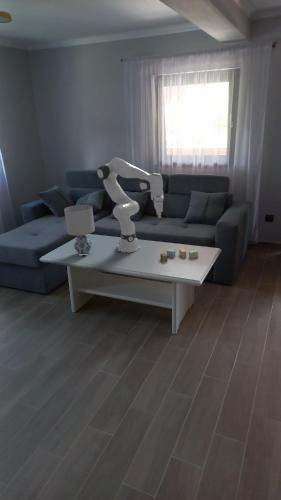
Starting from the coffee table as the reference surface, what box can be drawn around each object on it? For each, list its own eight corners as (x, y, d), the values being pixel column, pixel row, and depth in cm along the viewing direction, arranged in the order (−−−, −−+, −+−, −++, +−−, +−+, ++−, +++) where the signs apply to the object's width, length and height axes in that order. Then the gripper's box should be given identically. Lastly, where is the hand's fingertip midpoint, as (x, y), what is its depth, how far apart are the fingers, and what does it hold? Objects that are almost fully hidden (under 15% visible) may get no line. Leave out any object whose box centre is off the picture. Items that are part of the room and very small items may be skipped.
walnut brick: (160, 259, 260) (160, 253, 258) (164, 258, 261) (164, 252, 259) (163, 261, 254) (163, 256, 253) (167, 261, 255) (167, 255, 254)
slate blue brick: (166, 255, 265) (166, 250, 264) (168, 254, 267) (168, 249, 266) (173, 257, 261) (172, 251, 260) (175, 256, 263) (175, 250, 262)
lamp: (93, 258, 269) (88, 210, 256) (67, 259, 271) (60, 211, 259) (99, 249, 289) (94, 204, 276) (74, 249, 292) (68, 205, 279)
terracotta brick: (179, 254, 265) (179, 249, 264) (182, 254, 266) (182, 248, 265) (182, 257, 260) (182, 251, 258) (186, 256, 261) (186, 251, 259)
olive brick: (190, 258, 257) (190, 252, 256) (189, 257, 260) (188, 251, 258) (198, 256, 259) (198, 251, 258) (196, 255, 262) (196, 250, 260)
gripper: (151, 194, 251) (152, 213, 255) (154, 199, 231) (156, 219, 235) (159, 194, 251) (161, 212, 255) (163, 198, 231) (165, 218, 236)
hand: (158, 216), depth 245 cm, fingers open, 8 cm apart
